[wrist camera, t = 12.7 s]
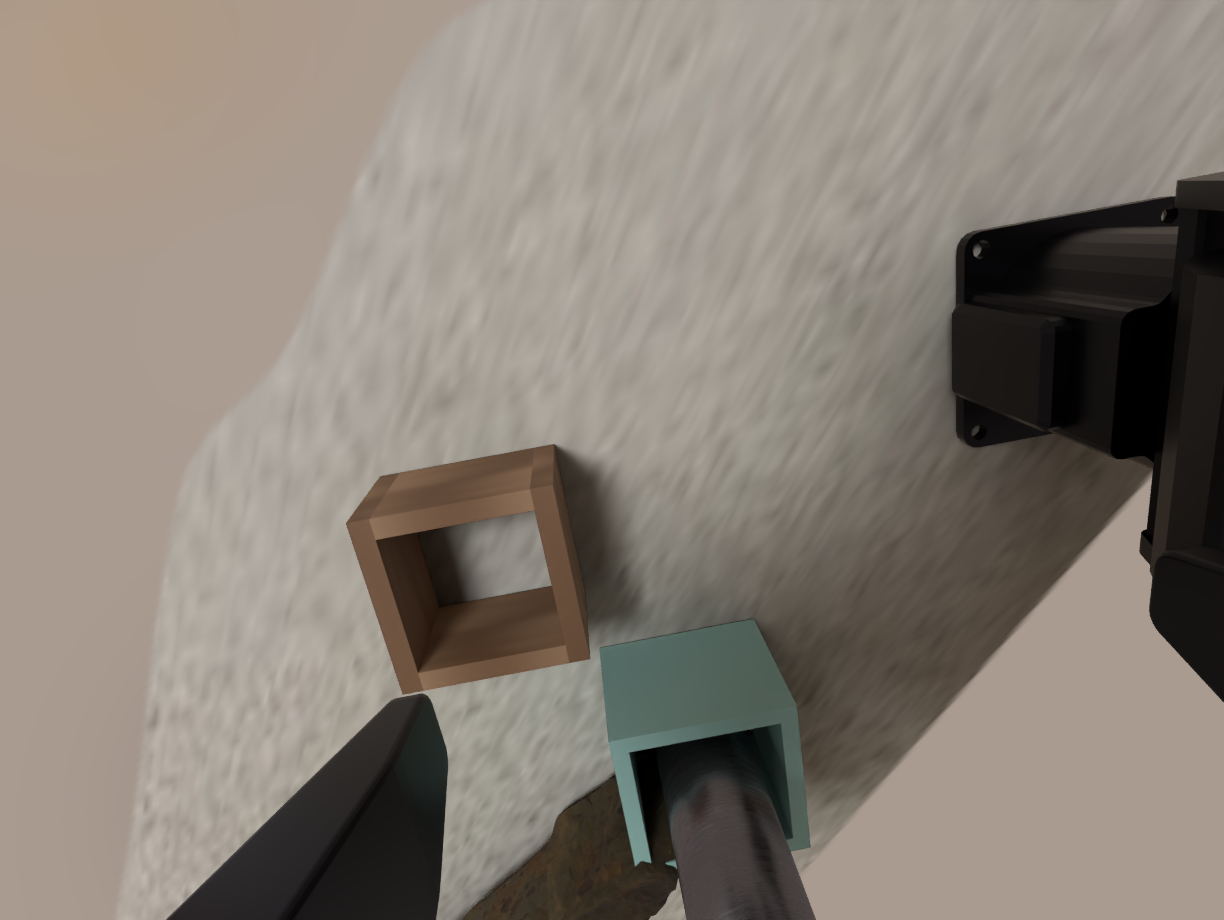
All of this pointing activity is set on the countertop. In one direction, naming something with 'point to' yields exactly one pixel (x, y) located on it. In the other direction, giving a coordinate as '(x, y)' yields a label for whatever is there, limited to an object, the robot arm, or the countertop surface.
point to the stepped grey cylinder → (727, 833)
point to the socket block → (482, 629)
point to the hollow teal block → (703, 714)
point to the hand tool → (593, 863)
